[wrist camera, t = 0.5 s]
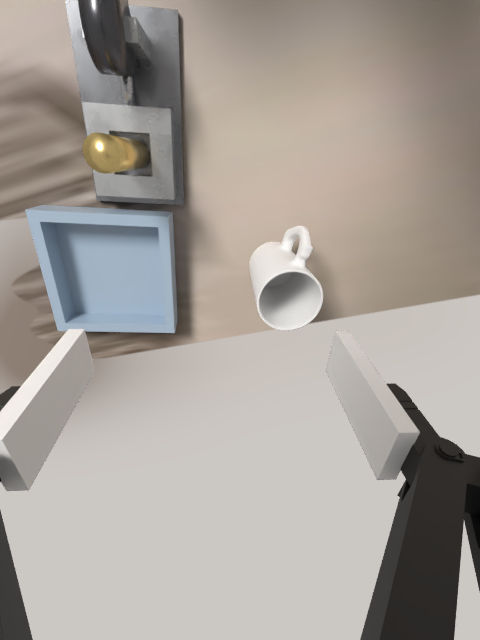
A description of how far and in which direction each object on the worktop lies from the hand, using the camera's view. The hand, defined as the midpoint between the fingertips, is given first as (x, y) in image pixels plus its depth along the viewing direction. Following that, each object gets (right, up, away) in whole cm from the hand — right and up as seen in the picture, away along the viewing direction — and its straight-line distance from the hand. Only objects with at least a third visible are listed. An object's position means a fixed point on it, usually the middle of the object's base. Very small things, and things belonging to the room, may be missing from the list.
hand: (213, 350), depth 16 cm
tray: (-15, +8, +23) cm, 29 cm away
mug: (+6, +11, +24) cm, 27 cm away
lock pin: (-10, +20, +17) cm, 28 cm away
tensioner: (-10, +23, +16) cm, 30 cm away
